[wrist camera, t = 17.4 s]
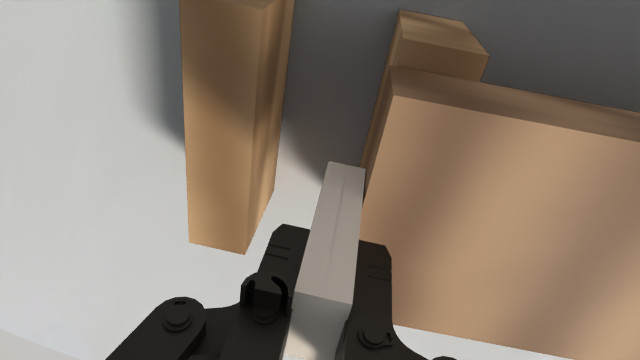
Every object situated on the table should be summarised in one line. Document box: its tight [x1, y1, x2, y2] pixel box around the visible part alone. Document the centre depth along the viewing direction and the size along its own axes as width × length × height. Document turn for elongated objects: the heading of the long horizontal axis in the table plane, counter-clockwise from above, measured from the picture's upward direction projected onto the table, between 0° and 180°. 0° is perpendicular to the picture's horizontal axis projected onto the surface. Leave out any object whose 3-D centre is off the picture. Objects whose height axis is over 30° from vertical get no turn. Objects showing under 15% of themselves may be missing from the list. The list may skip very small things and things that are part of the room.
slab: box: [359, 65, 640, 360], centre depth 15 cm, size 16×10×3 cm, turn 81°
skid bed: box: [179, 0, 490, 255], centre depth 19 cm, size 11×12×6 cm
